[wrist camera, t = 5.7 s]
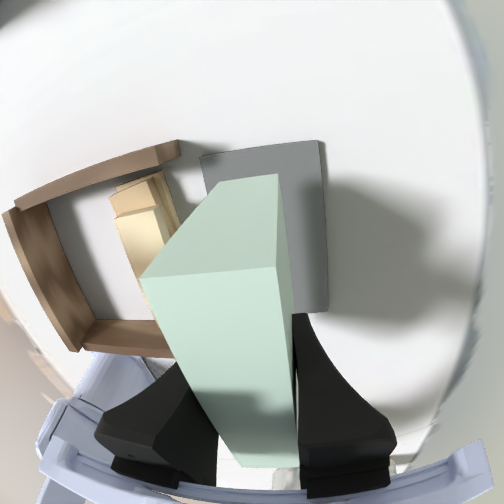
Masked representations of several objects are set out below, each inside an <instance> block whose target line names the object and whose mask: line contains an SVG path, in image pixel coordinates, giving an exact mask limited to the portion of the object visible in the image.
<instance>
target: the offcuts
mask: <svg viewBox="0 0 504 504" xmlns="http://www.w3.org/2000/svg"><path fill="white" fill-rule="evenodd" d="M116 190H117V193H115V194H114V195H112V196H110V197H109V200H110V202H111V204H112V207H113V209H114V211H115V213H116V216H117V217H116V218H115V219H114V221H115V224H116V227H117V230H118V233H119V236H120V238H121V241H122V244H123V246H124V249H125V252H126V254H127V257H128V259H129V262H130V264H131V267H132V269H133V272H134V274H135V276H136V279H137V281H138V284H139V286H140V288H141V290H142V293H143V295H144V297H145V299H146V302H147V304H148V306H149V308H150V310H151V312H152V315H153V317H154V319H155V321H156V323H157V325H158V327H159V328H160V326H159V324H158V322H157V320H156V318H155V316H154V313H153V311H152V309H151V307H150V304H149V302H148V300H147V297H146V295H145V293H144V290H143V288H142V285H141V283H140V280H139V278H140V276H141V275H142V274H143V272H144V271H145V270H146V269H147V267H148V266H149V265H150V263H151V262H152V261H153V260H154V258H155V257H156V256H157V255H158V253H159V252H160V251H161V249H162V248H163V247H164V246H165V245H166V243H167V242H168V241H169V240H170V238H171V237H172V236H173V235H174V233H175V232H176V231H177V230H178V229H179V227H180V226H181V225H180V222H179V219H178V216H177V213H176V210H175V207H174V204H173V201H172V198H171V195H170V192H169V189H168V186H167V183H166V179H165V176H164V173H163V170H161V171H158V172H155V173H152V174H149V175H146V176H143V177H141V178H138V179H135V180H132V181H129V182H127V183H124V184H121V185H119V186H117V187H116Z"/></svg>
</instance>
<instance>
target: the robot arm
mask: <svg viewBox="0 0 504 504" xmlns="http://www.w3.org/2000/svg"><path fill="white" fill-rule="evenodd" d="M292 333H293V343H294V353H295V364H296V373H297V380H298V452H299V462H300V465H299V480H300V486H301V490H247V489H233V488H222V487H216V471H217V450H218V438H219V433H218V432H217V430H216V429H215V427H214V426H213V424H212V422H211V421H210V419H209V418H208V416H207V414H206V413H205V411H204V409H203V408H202V406H201V404H200V403H199V401H198V399H197V398H196V396H195V394H194V392H193V391H192V389H191V387H190V385H189V383H188V382H187V380H186V378H185V376H184V374H183V372H182V371H181V369H180V367H179V365H178V363H177V361H176V362H175V364H174V365H173V366H172V367H171V368H170V369H169V370H168V371H166V372H165V373H164V374H163V375H162V376H161V377H160V378H159V379H157V380H155V379H154V377H153V375H152V374H151V372H150V371H149V369H148V368H147V366H146V364H145V363H144V361H143V359H142V358H141V356H129V355H119V354H110V353H101V352H93V351H91V352H92V354H93V355H94V356H95V358H94V359H93V361H92V363H91V364H90V366H89V368H88V369H87V371H86V373H85V374H84V376H83V378H82V379H81V381H80V383H79V385H78V386H77V388H76V390H75V392H74V393H73V395H72V397H71V398H70V399H69V400H67V399H66V398H65V397H63V398H58V399H57V400H56V402H55V404H54V405H53V407H52V409H51V410H50V412H49V414H48V416H47V417H46V419H45V421H44V423H43V425H42V427H41V429H40V431H39V435H38V438H37V439H36V442H35V445H36V448H35V450H36V452H37V454H38V456H39V458H40V460H41V462H40V464H39V466H38V471H40V472H42V473H43V474H44V475H46V476H47V478H46V480H45V482H44V485H43V487H42V489H41V492H40V494H39V497H38V499H37V502H36V504H84V503H85V500H86V499H88V500H90V501H92V502H94V503H96V504H185V503H181V502H179V501H177V500H175V499H173V498H171V497H170V496H168V495H165V494H170V495H174V496H178V497H183V498H188V499H194V500H199V501H206V502H213V503H221V504H463V503H465V502H467V501H469V500H471V499H473V498H475V497H477V496H479V495H481V494H482V493H484V492H486V491H488V490H490V489H491V488H493V487H494V483H493V478H492V474H491V470H490V466H489V463H488V459H487V455H486V451H485V448H484V445H483V442H482V439H479V440H477V441H475V442H473V443H471V444H468V445H466V446H464V447H462V448H460V449H458V450H456V451H454V452H453V453H451V454H450V456H449V457H448V458H446V459H443V460H441V461H438V462H435V463H433V464H430V465H427V466H424V467H421V468H418V469H414V470H411V471H408V472H404V473H401V474H397V475H393V476H390V473H389V466H390V458H389V455H390V454H391V453H392V451H393V450H394V449H395V447H396V445H397V440H396V436H395V433H394V431H393V428H392V426H391V424H390V422H389V421H388V419H387V418H386V417H385V416H384V415H382V414H381V413H380V412H378V411H377V410H376V409H375V408H373V407H372V406H371V405H370V404H369V403H368V402H367V401H365V400H364V399H363V398H362V397H361V396H360V395H359V394H358V393H357V392H356V391H355V390H354V389H353V388H352V387H351V386H350V385H349V383H348V382H347V381H346V380H345V379H344V378H343V376H342V375H341V374H340V373H339V371H338V370H337V369H336V367H335V366H334V365H333V363H332V362H331V360H330V359H329V357H328V356H327V354H326V353H325V351H324V349H323V348H322V346H321V344H320V342H319V340H318V339H317V337H316V335H315V333H314V330H313V328H312V326H311V323H310V320H309V317H308V314H307V313H296V314H292ZM152 490H153V491H152ZM155 491H157V492H155ZM158 492H161V493H165V494H161V493H158Z"/></svg>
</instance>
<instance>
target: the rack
mask: <svg viewBox="0 0 504 504" xmlns="http://www.w3.org/2000/svg"><path fill="white" fill-rule="evenodd" d="M180 155H181V153H180V148H179V144H178V140H174V141H170V142H166V143H162V144H158V145H155V146H151V147H148V148H144V149H141V150H138V151H134V152H131V153H128V154H125V155H122V156H119V157H115V158H113V159H110V160H107V161H104V162H101V163H98V164H95V165H93V166H90V167H87V168H85V169H82V170H80V171H77V172H75V173H72V174H70V175H67V176H65V177H62V178H60V179H58V180H55V181H53V182H51V183H48V184H46V185H44V186H42V187H40V188H38V189H36V190H34V191H31V192H29V193H27V194H25V195H23V196H22V197H20V198H18V199H16V200H14V202H15V207H13V208H12V209H10V210H8V211H6V212H5V213H3V214H2V217H3V220H4V223H5V226H6V228H7V231H8V234H9V237H10V239H11V242H12V244H13V247H14V249H15V252H16V254H17V257H18V259H19V261H20V264H21V266H22V268H23V270H24V272H25V274H26V277H27V279H28V281H29V283H30V285H31V287H32V289H33V291H34V293H35V295H36V297H37V298H38V300H39V302H40V304H41V306H42V308H43V309H44V311H45V313H46V315H47V316H48V318H49V320H50V321H51V323H52V325H53V326H54V328H55V330H56V331H57V333H58V334H59V336H60V337H61V339H62V341H63V342H64V344H65V345H66V347H67V348H68V349H69V351H71V352H77V353H78V352H79V351H80V349H81V348H82V346H83V348H84V349H85V350H86V351H93V352H101V353H110V354H119V355H129V356H141V357H155V358H174V359H175V357H174V355H173V353H172V351H171V349H170V347H169V345H168V343H167V341H166V339H165V337H164V335H163V333H162V331H161V329H160V328H159V327H158V325H157V323H156V321H155V320H100V319H96V318H95V316H94V314H93V312H92V311H91V309H90V307H89V305H88V303H87V301H86V299H85V297H84V295H83V293H82V291H81V289H80V287H79V285H78V283H77V281H76V278H75V276H74V274H73V272H72V270H71V267H70V265H69V263H68V260H67V258H66V256H65V253H64V251H63V248H62V246H61V243H60V241H59V238H58V235H57V233H56V230H55V227H54V225H53V222H52V219H51V216H50V213H49V210H48V207H47V204H46V201H47V200H50V199H52V198H55V197H58V196H60V195H63V194H66V193H69V192H71V191H74V190H77V189H80V188H83V187H86V186H89V185H92V184H95V183H98V182H101V181H104V180H108V179H111V178H114V177H117V176H121V175H124V174H128V173H131V172H135V171H139V170H142V169H146V168H150V167H154V166H158V165H161V164H163V163H165V162H167V161H169V160H171V159H174V158H176V157H178V156H180Z"/></svg>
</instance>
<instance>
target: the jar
mask: <svg viewBox="0 0 504 504" xmlns="http://www.w3.org/2000/svg"><path fill="white" fill-rule="evenodd" d="M286 472H287V468H278V469H277V470H276V471H275V472H274V473H273V480H272V490H284V487H285V482H286Z"/></svg>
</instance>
